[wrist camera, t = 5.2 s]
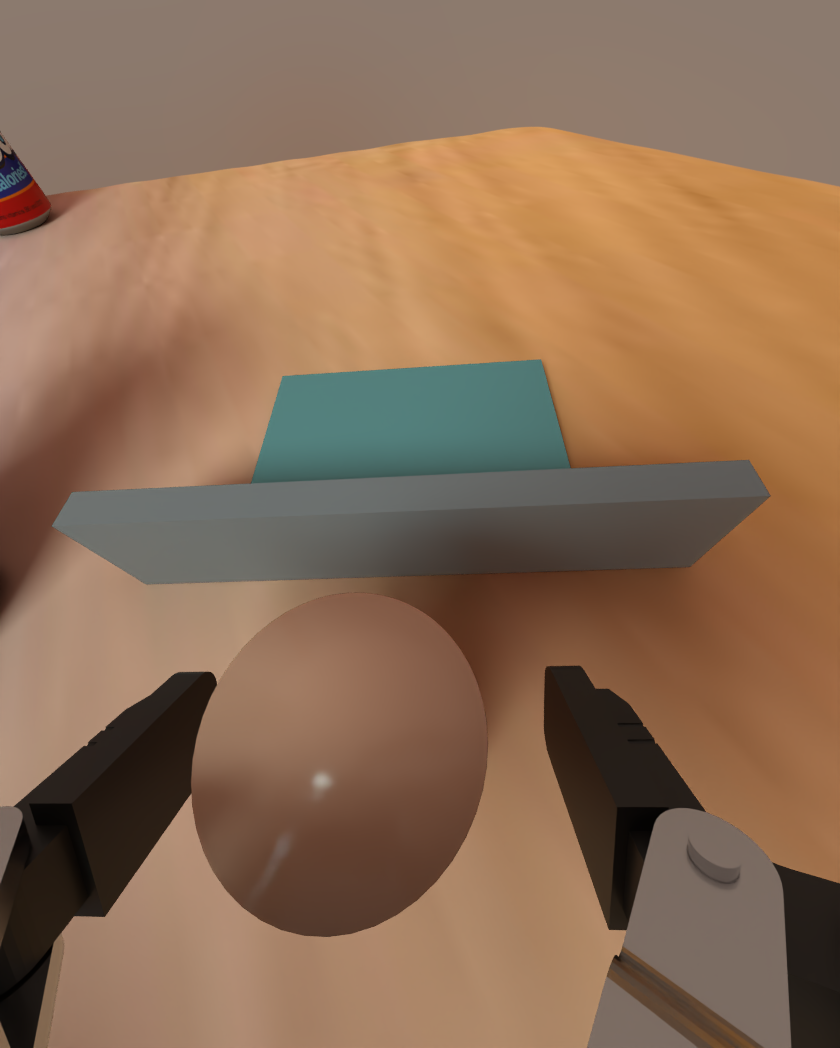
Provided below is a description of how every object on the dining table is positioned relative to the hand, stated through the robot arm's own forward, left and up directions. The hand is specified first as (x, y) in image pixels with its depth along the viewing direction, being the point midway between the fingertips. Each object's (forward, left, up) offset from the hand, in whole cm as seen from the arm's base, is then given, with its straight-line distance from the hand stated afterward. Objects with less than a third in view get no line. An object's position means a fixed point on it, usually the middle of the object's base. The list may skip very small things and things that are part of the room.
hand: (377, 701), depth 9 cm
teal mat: (-2, -14, -6) cm, 15 cm away
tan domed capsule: (0, +1, -6) cm, 6 cm away
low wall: (-1, -6, -6) cm, 9 cm away
